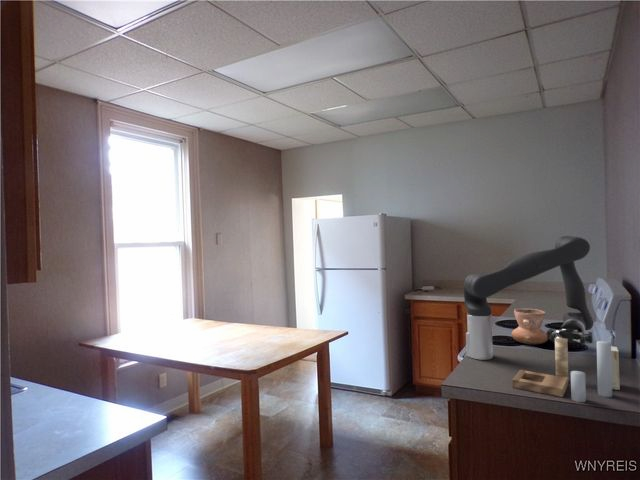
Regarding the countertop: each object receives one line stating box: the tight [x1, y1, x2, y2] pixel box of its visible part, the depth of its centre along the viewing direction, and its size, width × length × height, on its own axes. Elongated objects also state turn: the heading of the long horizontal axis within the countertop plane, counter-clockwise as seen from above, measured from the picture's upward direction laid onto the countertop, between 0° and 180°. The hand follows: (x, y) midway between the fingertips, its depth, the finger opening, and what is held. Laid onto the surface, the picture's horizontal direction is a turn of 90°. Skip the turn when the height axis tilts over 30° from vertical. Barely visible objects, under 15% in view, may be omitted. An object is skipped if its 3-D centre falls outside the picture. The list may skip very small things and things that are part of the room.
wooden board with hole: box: [512, 369, 569, 398], centre depth 130 cm, size 14×11×2 cm
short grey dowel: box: [570, 370, 587, 403], centre depth 119 cm, size 4×4×8 cm
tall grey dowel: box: [596, 340, 613, 398], centre depth 122 cm, size 4×4×16 cm
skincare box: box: [611, 345, 621, 391], centre depth 128 cm, size 6×4×12 cm
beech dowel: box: [554, 338, 569, 379], centre depth 134 cm, size 4×4×14 cm
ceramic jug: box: [511, 308, 548, 345], centre depth 180 cm, size 18×14×14 cm
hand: (566, 340), depth 143 cm, fingers open, 8 cm apart
